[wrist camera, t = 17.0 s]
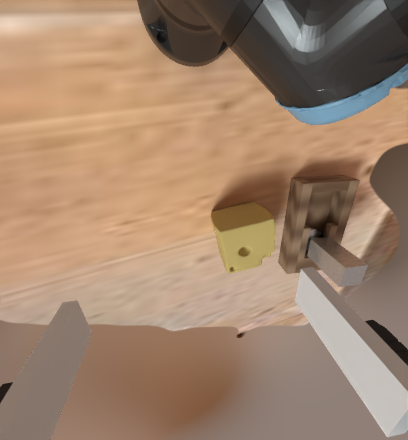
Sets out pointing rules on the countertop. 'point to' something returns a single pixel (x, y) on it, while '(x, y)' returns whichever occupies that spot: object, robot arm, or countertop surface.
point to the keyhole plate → (314, 216)
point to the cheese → (244, 235)
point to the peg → (335, 260)
